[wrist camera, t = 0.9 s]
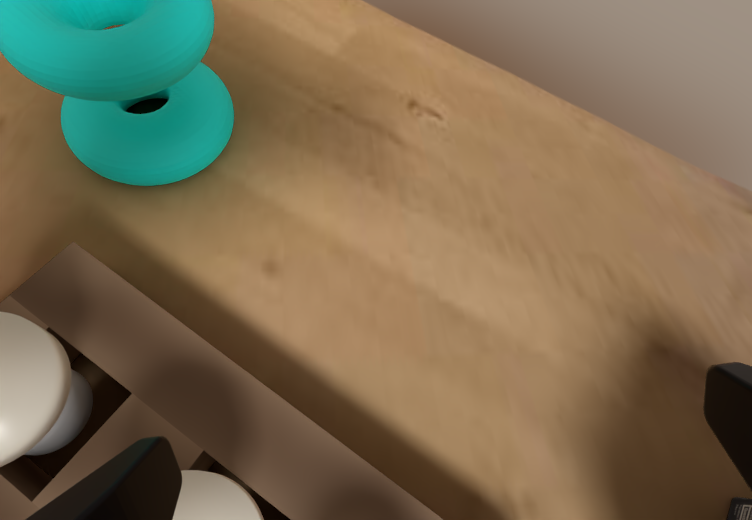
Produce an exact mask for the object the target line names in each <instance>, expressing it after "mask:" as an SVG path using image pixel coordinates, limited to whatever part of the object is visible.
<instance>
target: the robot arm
mask: <svg viewBox="0 0 752 520" xmlns="http://www.w3.org/2000/svg"><path fill="white" fill-rule="evenodd" d="M703 408H704V415H705V418H706V421H707V423H708V425H709V426H710V428H711V429H712V431H713V433H714V434H715V436H716V437H717V439H718V440H719V442H720V443H721V445H722V446H723V448H724V450H725V451H726V453H727V454H728V456H729V457H730V459H731V460H732V462H733V463H734V465H735V467H736V468H737V470H738V471H739V473H740V474H741V476H742V477H743V479H744V480H745V482H746V484H747V485H748V487H749V488H750V490H751V491H752V366H749V365H746V364H743V363H738V362H733V363H725V364H717V365H712V366H711V367H709V368H708V370H707V372H706V381H705V393H704V406H703ZM181 486H182V473H181V470H180V467H179V464H178V462H177V459H176V457H175V454H174V452H173V449H172V446H171V444H170V442H169V440H168V439H167V438H166V437H164V436H155V437H147V438H142V439H139V440H138V441H136V442H135V443H133V444H132V445H130V446H129V447H128V448H126V449H125V450H123V451H122V452H120V453H119V454H118V455H116V456H115V457H113V458H112V459H110V460H109V461H108V462H106V463H105V464H103V465H102V466H100V467H99V468H98V469H96V470H95V471H93V472H92V473H90V474H89V475H88V476H86V477H85V478H83V479H82V480H80V481H79V482H78V483H76V484H75V485H73V486H72V487H71V488H69V489H68V490H66V491H65V492H63V493H62V494H61V495H59V496H58V497H56V498H55V499H53V500H52V501H51V502H49V503H48V504H46V505H45V506H43V507H42V508H41V509H39V510H38V511H36V512H35V513H33V514H32V515H31V516H29V517H28V518H26V519H25V520H172V519H173V516H174V512H175V509H176V505H177V501H178V498H179V494H180V491H181Z"/></svg>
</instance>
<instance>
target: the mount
mask: <svg viewBox="0 0 752 520" xmlns="http://www.w3.org/2000/svg"><path fill="white" fill-rule="evenodd" d="M0 312H6V313H11V314H15V315H18V316H21V317H23V318H25V319H27V320H29V321H31V322H32V323H34V324H36V325H38V326H39V327H41V328H43V329H44V330H46V331H47V332H49V333H50V334H52V335H53V336H54V337H55V338H56V339H57V340H58V341H59V342H60V343H61V345H62V346H63V347H64V349H65V351H66V353H67V355H68V358H69V361H70V364H71V363H72V362H73V361H74V360H75V359H76V358H77V357H78V356H79V355H80V354H81V353H82V354H84V355H85V356H86V357H87V358H89V359H90V360H91V361H92V362H94V363H95V364H96V365H97V366H99V367H100V368H101V369H102V370H104V371H105V372H106V373H107V374H109V375H110V376H111V377H112V378H114V379H115V380H116V381H117V382H119V383H120V384H121V385H122V386H124V387H125V388H126V389H127V390H129V391H130V392H131V393H132V394H131V395H130V396H129V397H128V399H127V400H126V401H125V402H124V403H123V404H122V405H121V406H120V407H119V408H118V409H117V410H116V412H115V413H114V414H113V415H112V416H111V417H110V418H109V419H108V420H107V421H106V422H105V423H104V424H103V426H102V427H101V428H100V429H99V430H98V431H97V432H96V433H95V434H94V435H93V436H92V437H91V438H90V440H89V441H88V442H87V443H86V444H85V445H84V446H83V447H82V448H81V449H80V450H79V451H78V453H77V454H76V455H75V456H74V457H73V458H72V459H71V460H70V461H69V462H68V463H67V464H66V465H65V467H64V468H63V469H62V470H61V471H60V472H59V473H58V474H57V475H56V476H55V477H54V478H53V479H52V478H51V477H50V476H48V475H47V474H46V473H45V472H44V471H43V470H42V469H40V468H39V467H38V466H37V465H36V464H35V463H33V462H32V461H31V460H30V459H29V458H28V457H26V456H25V455H22V456H20V457H19V458H17V459H16V460H14V461H12V462H10V463H8V464H6V465H4V466H2V467H0V520H25V519H26V518H28V517H29V516H31V515H32V514H33V513H35V512H36V511H38V510H39V509H41V508H42V507H43V506H45V505H46V504H48V503H49V502H51V501H52V500H53V499H55V498H56V497H58V496H59V495H61V494H62V493H63V492H65V491H66V490H68V489H69V488H71V487H72V486H73V485H75V484H76V483H78V482H79V481H80V480H82V479H83V478H85V477H86V476H88V475H89V474H90V473H92V472H93V471H95V470H96V469H98V468H99V467H100V466H102V465H103V464H105V463H106V462H108V461H109V460H110V459H112V458H113V457H115V456H116V455H118V454H119V453H120V452H122V451H123V450H125V449H126V448H128V447H129V446H130V445H132V444H133V443H135V442H136V441H138V440H139V439H142V438H147V437H155V436H164V437H166V438H167V439H168V440H169V442H170V444H171V446H172V449H173V452H174V454H175V457H176V459H177V462H178V464H179V467H180V470H181V471H183V470H199V471H206V472H207V471H208V469H209V468H210V467H211V466H212V464H213V463H214V462H215V461H218V462H219V463H220V464H222V465H223V466H224V467H225V468H227V469H228V470H229V471H230V472H232V473H233V474H234V475H235V476H237V477H238V478H239V479H240V480H242V481H243V482H244V483H245V484H247V485H248V486H249V487H250V488H252V489H253V490H254V491H255V492H257V493H258V494H259V495H260V496H262V497H263V498H264V499H265V500H267V501H268V502H269V503H270V504H272V505H273V506H274V507H275V508H277V509H278V510H279V511H280V512H282V513H283V514H284V515H285V516H287V517H288V518H289V519H290V520H443V519H442V518H441V517H439V516H438V515H437V514H435V513H434V512H433V511H431V510H430V509H429V508H427V507H426V506H425V505H423V504H422V503H421V502H419V501H418V500H417V499H415V498H414V497H413V496H411V495H410V494H409V493H407V492H406V491H405V490H403V489H402V488H401V487H399V486H398V485H397V484H395V483H394V482H393V481H391V480H390V479H389V478H387V477H386V476H385V475H384V474H382V473H381V472H380V471H378V470H377V469H376V468H374V467H373V466H372V465H370V464H369V463H368V462H366V461H365V460H364V459H362V458H361V457H360V456H358V455H357V454H356V453H354V452H353V451H352V450H350V449H349V448H348V447H346V446H345V445H344V444H342V443H341V442H340V441H338V440H337V439H336V438H334V437H333V436H332V435H330V434H329V433H328V432H326V431H325V430H324V429H322V428H321V427H320V426H318V425H317V424H316V423H314V422H313V421H312V420H310V419H309V418H308V417H306V416H305V415H304V414H302V413H301V412H300V411H298V410H297V409H296V408H294V407H293V406H292V405H290V404H289V403H288V402H286V401H285V400H284V399H282V398H281V397H280V396H278V395H277V394H276V393H274V392H273V391H272V390H270V389H269V388H268V387H266V386H265V385H264V384H262V383H261V382H260V381H258V380H257V379H256V378H254V377H253V376H252V375H250V374H249V373H248V372H246V371H245V370H244V369H242V368H241V367H240V366H238V365H237V364H236V363H234V362H233V361H232V360H230V359H229V358H228V357H226V356H225V355H224V354H222V353H221V352H220V351H218V350H217V349H216V348H215V347H213V346H212V345H211V344H209V343H208V342H207V341H205V340H204V339H203V338H201V337H200V336H199V335H197V334H196V333H195V332H193V331H192V330H191V329H189V328H188V327H187V326H185V325H184V324H183V323H181V322H180V321H179V320H177V319H176V318H175V317H173V316H172V315H171V314H169V313H168V312H167V311H165V310H164V309H163V308H161V307H160V306H159V305H157V304H156V303H155V302H153V301H152V300H151V299H149V298H148V297H147V296H145V295H144V294H143V293H141V292H140V291H139V290H137V289H136V288H135V287H133V286H132V285H131V284H129V283H128V282H127V281H125V280H124V279H123V278H121V277H120V276H119V275H117V274H116V273H115V272H113V271H112V270H111V269H109V268H108V267H107V266H105V265H104V264H103V263H101V262H100V261H99V260H97V259H96V258H95V257H93V256H92V255H91V254H89V253H88V252H87V251H85V250H84V249H83V248H81V247H80V246H79V245H77V244H76V243H75V242H72V243H71V244H69V245H68V246H67V247H66V248H65V249H64V250H62V251H61V252H60V253H59V254H58V255H56V256H55V257H54V258H53V259H52V260H51V261H49V262H48V263H47V264H46V265H45V266H43V267H42V268H41V269H40V270H39V271H38V272H36V273H35V274H34V275H33V276H32V277H30V278H29V279H28V280H27V281H26V282H25V283H23V284H22V285H21V286H20V287H19V288H17V289H16V290H15V291H14V292H13V293H12V294H10V295H9V296H8V297H7V298H6V299H4V300H3V301H2V302H1V303H0Z"/></svg>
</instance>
